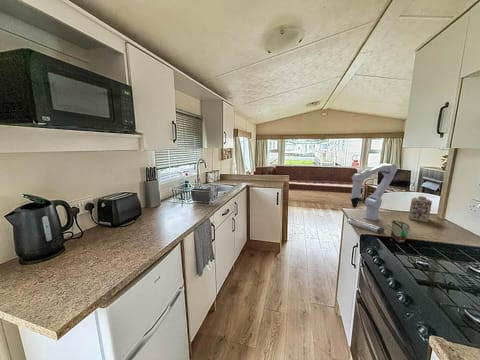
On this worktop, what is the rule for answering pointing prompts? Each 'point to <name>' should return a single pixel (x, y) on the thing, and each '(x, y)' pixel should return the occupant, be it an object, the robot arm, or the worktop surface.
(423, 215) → the decorative jar
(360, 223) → the fixed tong arm
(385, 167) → the robot arm
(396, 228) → the food container
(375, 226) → the hinged tong arm
